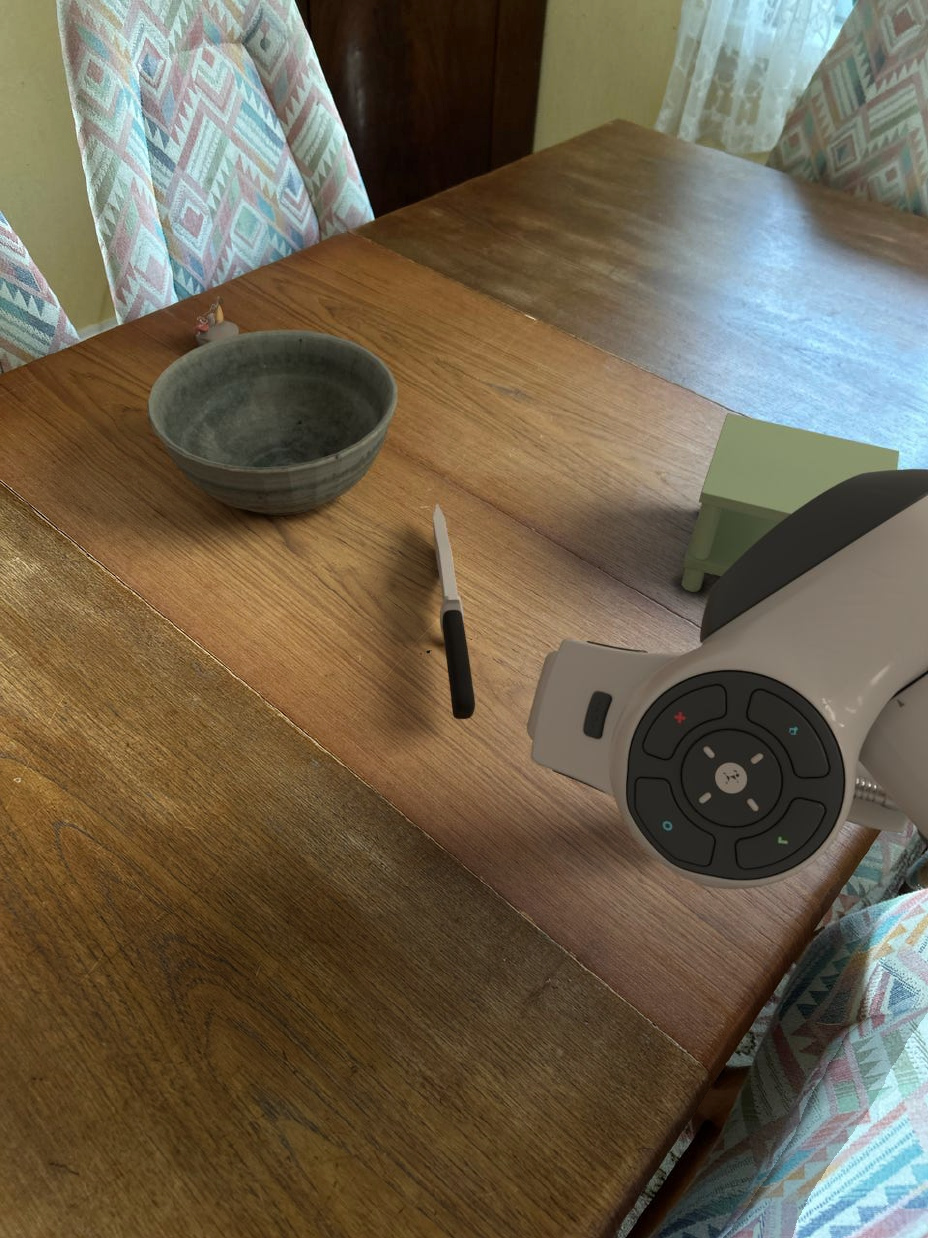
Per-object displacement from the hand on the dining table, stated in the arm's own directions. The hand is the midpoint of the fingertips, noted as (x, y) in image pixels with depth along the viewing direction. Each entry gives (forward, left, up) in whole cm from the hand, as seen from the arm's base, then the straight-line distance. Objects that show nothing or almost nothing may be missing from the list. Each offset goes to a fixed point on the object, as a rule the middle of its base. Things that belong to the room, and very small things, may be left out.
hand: (714, 734), depth 63 cm
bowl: (+41, -23, -10) cm, 48 cm away
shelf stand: (-2, -29, -10) cm, 31 cm away
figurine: (+58, -42, -10) cm, 73 cm away
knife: (+21, -12, -10) cm, 26 cm away
